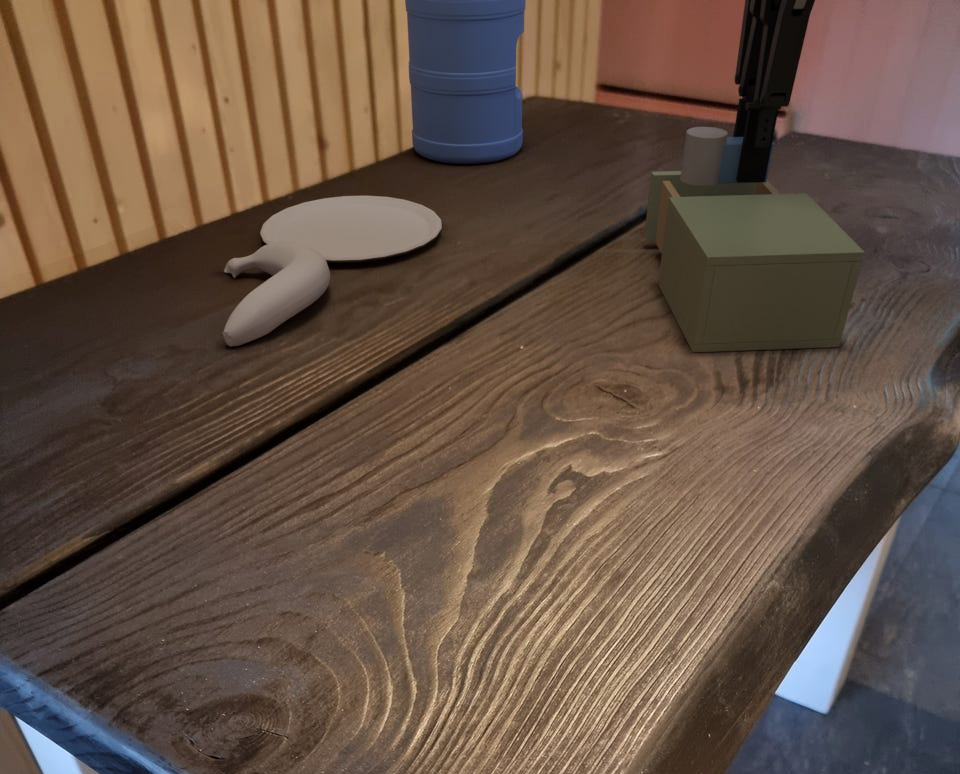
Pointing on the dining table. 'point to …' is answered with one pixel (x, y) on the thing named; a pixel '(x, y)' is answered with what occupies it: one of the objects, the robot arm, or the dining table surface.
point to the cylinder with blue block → (712, 157)
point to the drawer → (672, 186)
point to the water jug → (465, 79)
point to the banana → (276, 289)
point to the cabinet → (757, 272)
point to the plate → (355, 227)
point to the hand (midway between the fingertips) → (745, 175)
